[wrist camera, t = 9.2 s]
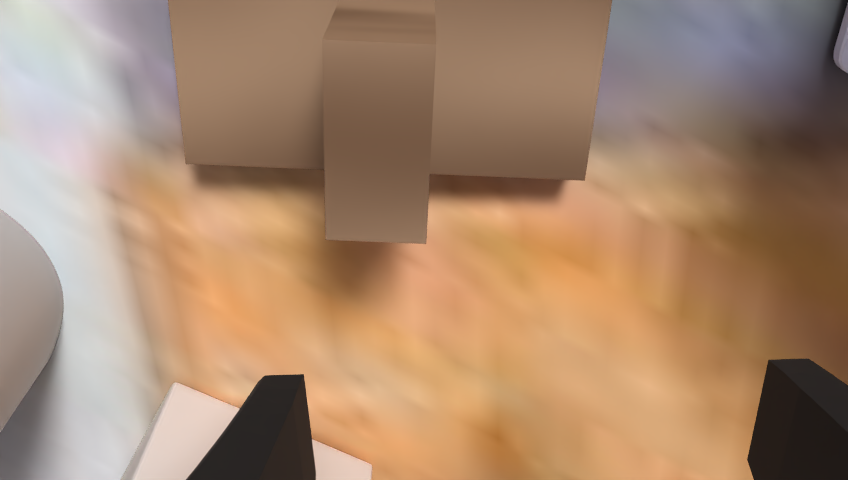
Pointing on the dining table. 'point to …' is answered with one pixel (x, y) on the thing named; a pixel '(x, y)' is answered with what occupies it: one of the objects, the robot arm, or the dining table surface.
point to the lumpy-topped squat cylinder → (25, 313)
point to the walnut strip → (389, 95)
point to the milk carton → (211, 441)
